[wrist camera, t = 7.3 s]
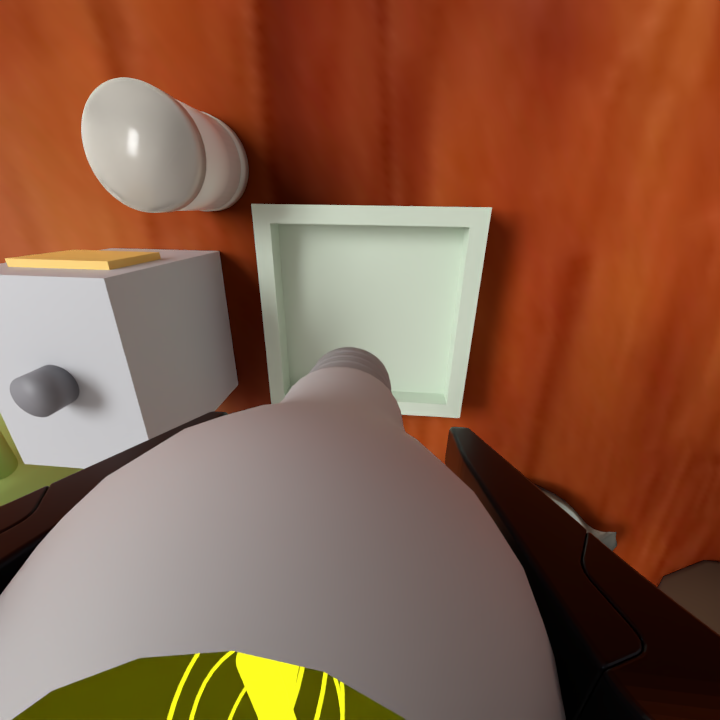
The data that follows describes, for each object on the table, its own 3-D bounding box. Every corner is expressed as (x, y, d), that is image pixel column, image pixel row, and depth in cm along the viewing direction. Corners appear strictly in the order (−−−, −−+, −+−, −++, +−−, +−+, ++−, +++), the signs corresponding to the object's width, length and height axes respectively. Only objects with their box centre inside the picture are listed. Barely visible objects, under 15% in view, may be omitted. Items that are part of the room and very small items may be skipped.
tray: (482, 207, 16) (492, 207, 15) (454, 401, 21) (459, 418, 19) (264, 204, 17) (251, 203, 16) (281, 391, 21) (271, 406, 20)
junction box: (218, 245, 18) (74, 274, 10) (238, 389, 22) (144, 498, 13) (111, 242, 19) (-111, 268, 10) (148, 383, 22) (2, 486, 14)
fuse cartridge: (242, 113, 16) (182, 75, 11) (253, 211, 17) (204, 212, 13) (157, 115, 16) (64, 78, 12) (176, 211, 18) (101, 212, 13)
